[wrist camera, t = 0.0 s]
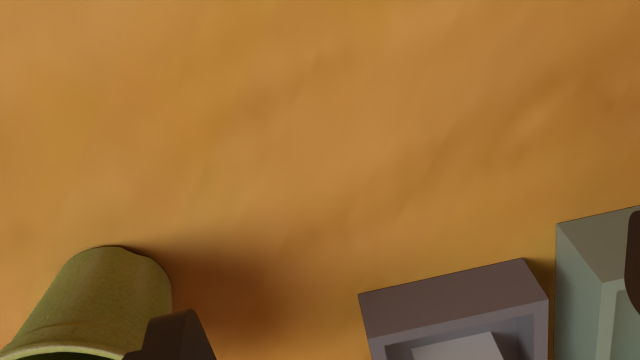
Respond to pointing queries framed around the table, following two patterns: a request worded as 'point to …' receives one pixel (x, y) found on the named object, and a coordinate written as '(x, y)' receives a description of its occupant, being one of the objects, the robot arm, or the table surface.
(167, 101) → the table surface
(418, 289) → the charcoal tub
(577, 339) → the sage green bin
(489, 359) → the pale pink block
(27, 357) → the plant pot
